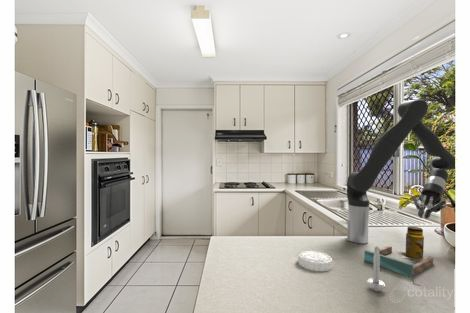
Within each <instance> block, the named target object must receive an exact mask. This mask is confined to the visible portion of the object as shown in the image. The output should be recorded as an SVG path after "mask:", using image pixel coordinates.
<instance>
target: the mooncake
mask: <svg viewBox="0 0 470 313" xmlns="http://www.w3.org/2000/svg"><path fill="white" fill-rule="evenodd" d="M297 259H298V264H299V266H301V267H302V268H304V269H306V270H308V271H309V270H310V271H314V272H327V271H330V270H331V269H333V258H332V257H331V255H329V254H327V253H324V252H322V251H316V250H307V251H306V250H304V251H301V252H300V253H299V254H298V258H297Z"/></svg>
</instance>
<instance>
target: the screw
mask: <svg viewBox="0 0 470 313" xmlns="http://www.w3.org/2000/svg"><path fill="white" fill-rule="evenodd" d="M373 249H374V250H373V251H374V255H373V256H374V257H373V258H374V259H373V260H374V261H373V262H374V263H373V264H372V266H373V267H372V270H373V271H372V277H371V278H368V279H367V280H366V283H367V284H368V285H370V290H372V291H374V292H381V289H382V288H386V284H385V282H384V281H383V280H381V279H380V276H381V273H380V272H381V271H380V270H381V267H380V265H379V264H380V263H379V262H380V261H379V260H380V257H379V256H380V255H379V249H380V247H379V246H374V248H373Z"/></svg>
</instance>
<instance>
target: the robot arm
mask: <svg viewBox="0 0 470 313" xmlns="http://www.w3.org/2000/svg"><path fill="white" fill-rule="evenodd" d="M428 109H429V105H428V103H427V101H426V100H425V99H417V98H416V99H410V100H405V101H403V102H401V103H400V104H399V105H398V107H397V115H398V116H399V118H400V120H399V121H397V123H395V124H394V125H393V126H391V127H389V129H387V130H386V131H385V132H384V133H383V134H381V136H380V137H379V138H378V140H376V142H375V144H374V145H373V146H372V148H371V152H370V154H369V158H368V159H367V161H366V162H365V164H364V166H363V167H362V168H361V169H360V170H359V171H354V172H351V173H350V174H349V175H348V177H347V180H346V196H347V197H346V198H347V201H348V202H347V207H348V208H347V230H346V231H347V232H346V241H347V242H352V243H354V244H355V243H356V244H367V243H369V229H370V228H369V222H370V219H369V218H370V200H369V198H368V195H367V192H368V191H369V190H370V189H371V188H372V186H373V185H374V183H375V181H376V180H377V178H378V176H379V175H380V173H381V172H382V170H383V169H384V168H385V167H386V165H387V163H388V162H390V160H391V159H392V157H393V156H394V155H395V153H396V152H397V151H398V150H399V149H400V147H401V145H402V143H403V142H404V141H405V140H406V138H407V137H408V136H409V134H410V133H411V132H412V133H413V134H414V135H415V136H416V137H417V139H418V140H419V142H420V144H421V145H422V147H423V149H424V151H425V152H426V153H427V155H428V156H430V157H432V158H431V159H430V161H429V174H428V177H427V179H426V180H425V183H424V184H423V187H422V190H421V193H420V195H419V196H418V197H415V196H413V197H411V199H412V201H413V203H414V206H415V208H416V210H418V212H417V215H418V217H419V218H420V219H422V218H423V216H424V219H425V220H428V219H430V217H431V214H432V213H438V212H440V211H441V210H443V209H444V208H446V207H447V202H446V200H442V198H443V194H444V192H445V189H446V185H447V180H448V179H449V173H448V172H447V171H450V170H451V171H452V170H455V169H456V168H455V158H456V157H455V155H453V154H452V153H451V152H450V151H449V150H447V149H446V148H445V146H444V145H443V144H442V142H441V140H440V138H439V137H438V135H436V133H435V132H433V130H431V129H430V128H429V127H428V126H426V125H425V123H423V121H422V119H423V118H424V117H425V116H426V115H427V113H428ZM419 202H420V205H419Z"/></svg>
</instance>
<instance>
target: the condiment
mask: <svg viewBox="0 0 470 313" xmlns="http://www.w3.org/2000/svg"><path fill="white" fill-rule="evenodd" d="M423 231H424V230H423V228H421V227H418V226H407V230H406V233H405V234H406V235H405V252H404V251H397V254H398V255H399V256H400V257H401V258H402V259H409V260H410V259H411V260H417V261H422V260H424V259H425V258H424V247H425V246H424V245H425V244H424V243H425V242H424V240H425V236H424V235H423V234H424V233H423Z"/></svg>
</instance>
